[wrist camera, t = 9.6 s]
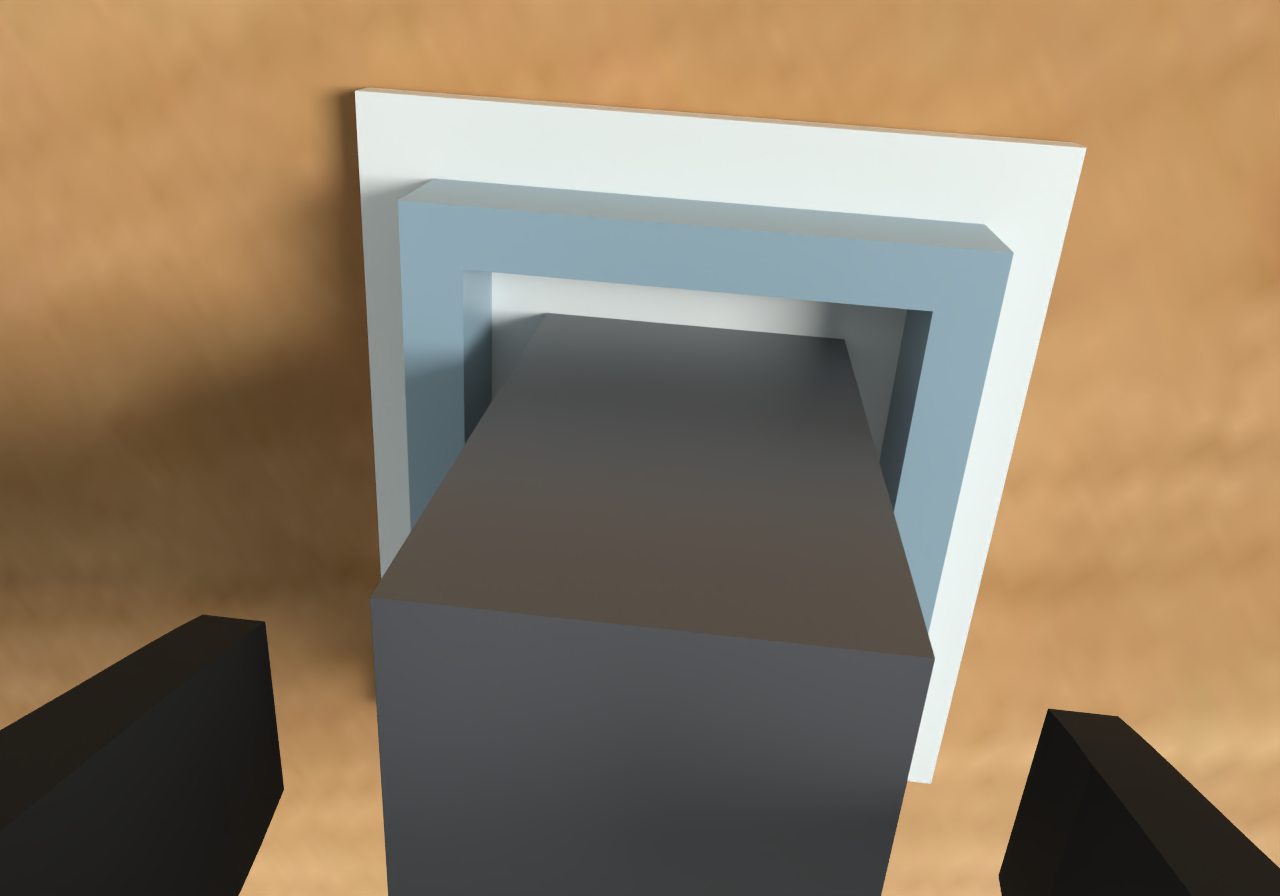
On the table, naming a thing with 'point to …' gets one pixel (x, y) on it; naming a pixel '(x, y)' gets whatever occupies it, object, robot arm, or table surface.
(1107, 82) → the table surface
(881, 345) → the socket dock
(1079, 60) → the table surface
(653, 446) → the plug
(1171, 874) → the robot arm
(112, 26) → the table surface
